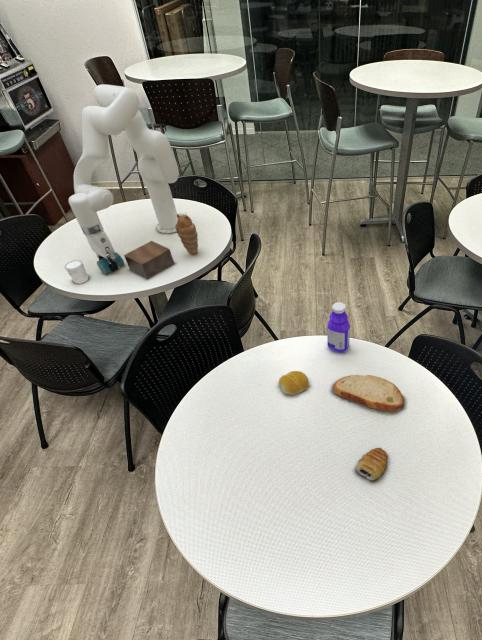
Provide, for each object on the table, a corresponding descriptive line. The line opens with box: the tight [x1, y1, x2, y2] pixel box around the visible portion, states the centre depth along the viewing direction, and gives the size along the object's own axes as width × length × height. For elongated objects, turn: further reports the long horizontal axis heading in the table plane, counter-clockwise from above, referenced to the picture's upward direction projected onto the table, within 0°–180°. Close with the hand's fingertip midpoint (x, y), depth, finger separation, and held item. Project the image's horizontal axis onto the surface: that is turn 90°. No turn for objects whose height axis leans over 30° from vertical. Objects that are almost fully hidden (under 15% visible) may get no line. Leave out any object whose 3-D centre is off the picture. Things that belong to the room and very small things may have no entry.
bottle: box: [326, 302, 351, 354], centre depth 135 cm, size 7×6×17 cm
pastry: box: [354, 447, 389, 481], centre depth 110 cm, size 9×7×4 cm
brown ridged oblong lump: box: [175, 213, 199, 256], centre depth 178 cm, size 9×8×18 cm
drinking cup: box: [96, 251, 125, 275], centre depth 176 cm, size 8×6×6 cm
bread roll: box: [278, 370, 309, 396], centre depth 130 cm, size 8×9×4 cm
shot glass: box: [64, 259, 89, 284], centre depth 171 cm, size 7×7×7 cm
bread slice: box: [332, 374, 405, 412], centre depth 126 cm, size 18×18×4 cm
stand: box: [123, 240, 175, 280], centre depth 176 cm, size 14×12×7 cm
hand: (110, 267), depth 177 cm, fingers closed on drinking cup, 5 cm apart
